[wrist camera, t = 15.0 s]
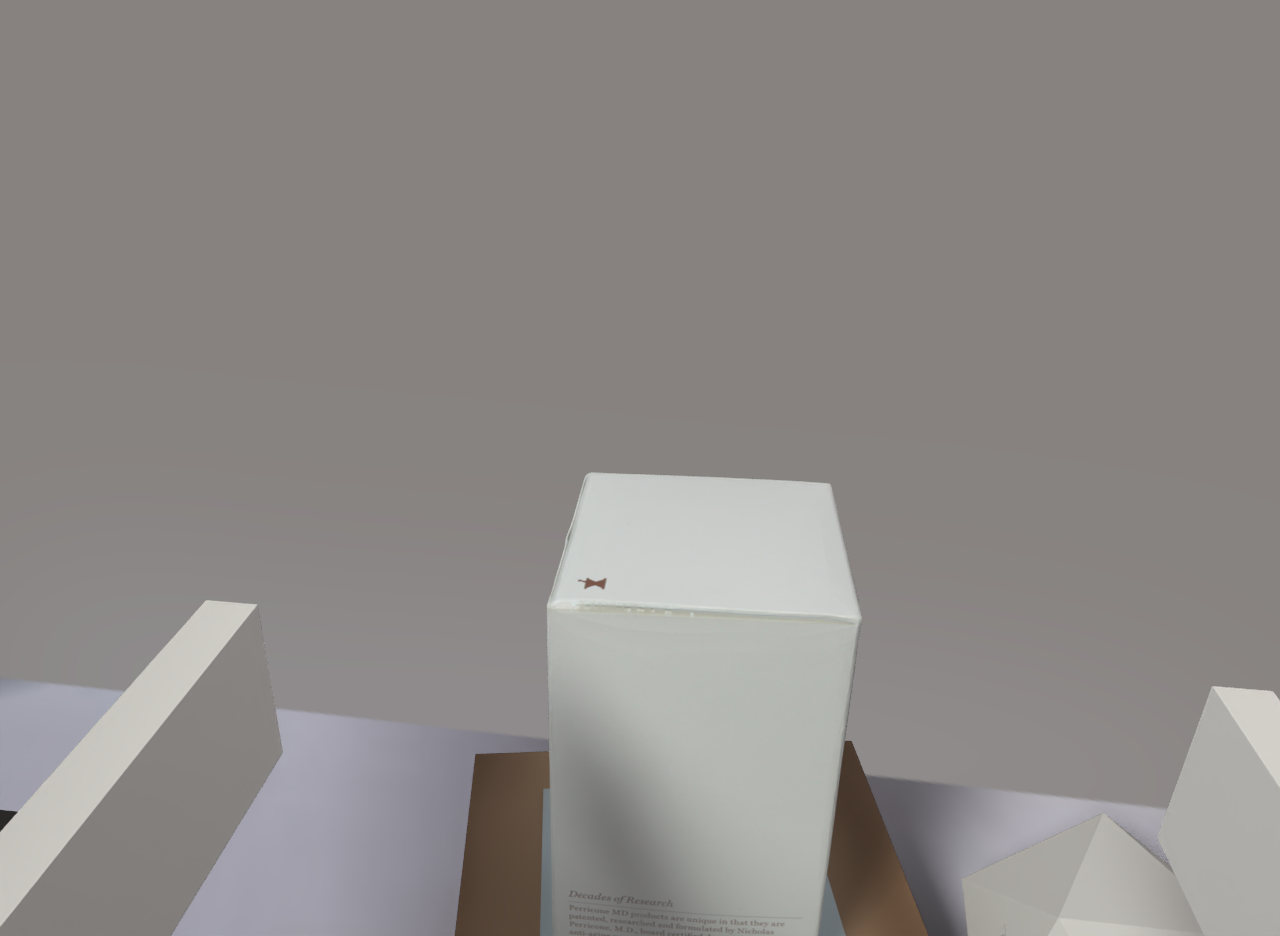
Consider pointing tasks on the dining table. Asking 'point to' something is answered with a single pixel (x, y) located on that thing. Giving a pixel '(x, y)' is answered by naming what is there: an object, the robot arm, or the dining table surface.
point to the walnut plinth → (522, 872)
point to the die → (1079, 889)
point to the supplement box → (697, 705)
